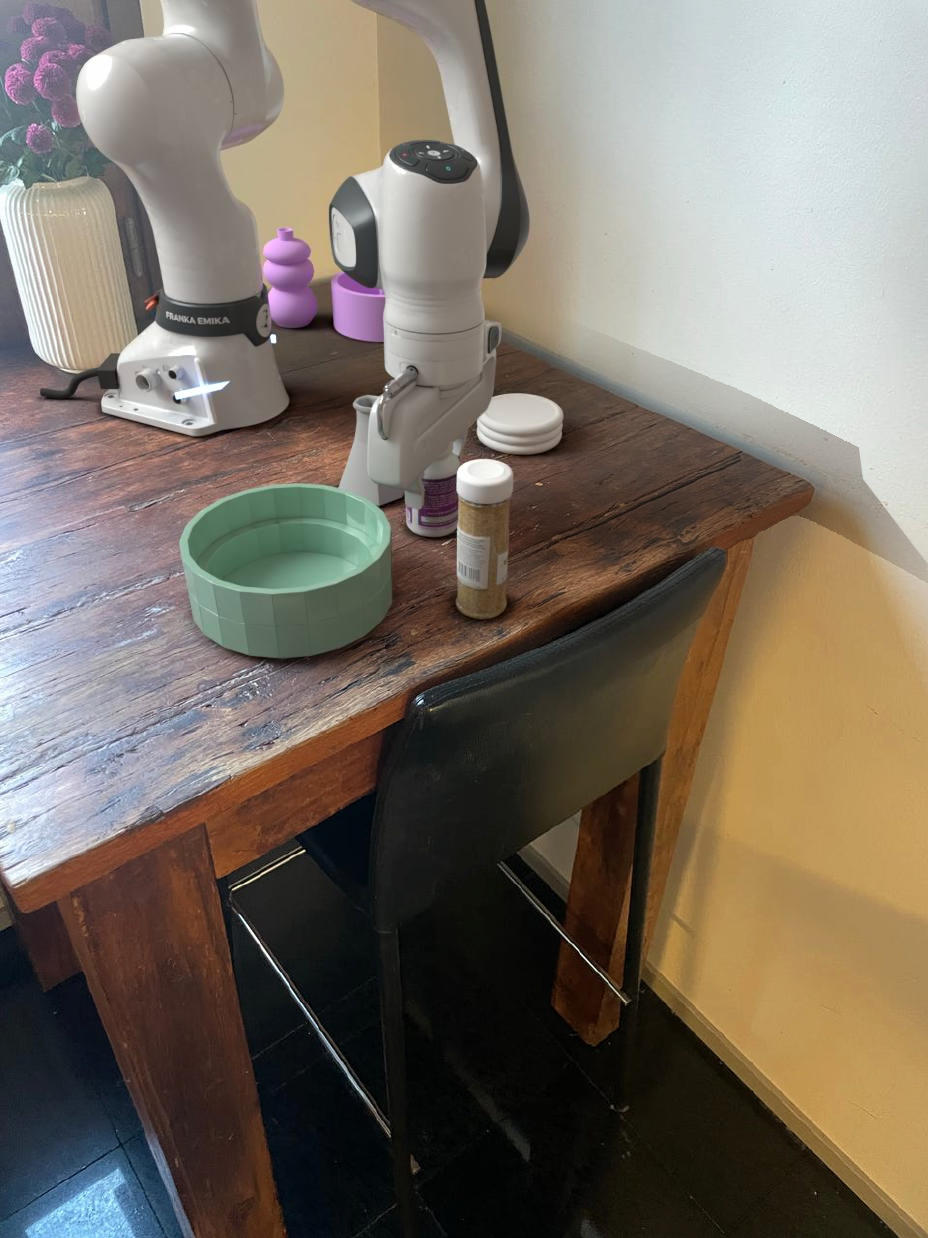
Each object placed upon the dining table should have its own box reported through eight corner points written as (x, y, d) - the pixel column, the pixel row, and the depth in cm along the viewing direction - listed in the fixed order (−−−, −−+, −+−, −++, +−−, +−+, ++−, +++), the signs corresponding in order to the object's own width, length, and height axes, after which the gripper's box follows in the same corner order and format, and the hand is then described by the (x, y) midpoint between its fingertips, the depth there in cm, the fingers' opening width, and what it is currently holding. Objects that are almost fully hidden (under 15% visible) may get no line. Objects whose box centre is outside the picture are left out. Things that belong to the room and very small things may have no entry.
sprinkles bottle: (516, 610, 82) (525, 474, 74) (473, 627, 80) (477, 488, 72) (487, 585, 85) (492, 451, 77) (444, 601, 83) (445, 465, 75)
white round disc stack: (488, 414, 115) (489, 387, 113) (568, 425, 113) (571, 397, 110) (466, 449, 107) (467, 420, 105) (552, 461, 105) (554, 433, 103)
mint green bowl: (154, 642, 78) (138, 572, 73) (247, 535, 91) (238, 471, 87) (351, 681, 74) (346, 610, 70) (417, 564, 88) (417, 498, 84)
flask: (381, 514, 95) (377, 423, 89) (325, 494, 98) (318, 405, 92) (421, 485, 100) (420, 397, 94) (366, 467, 103) (362, 381, 97)
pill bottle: (469, 521, 94) (472, 433, 88) (440, 544, 91) (440, 454, 85) (425, 506, 96) (424, 419, 91) (395, 528, 93) (392, 439, 87)
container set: (436, 307, 146) (436, 217, 138) (436, 342, 134) (436, 246, 126) (275, 305, 145) (266, 215, 137) (260, 340, 133) (249, 244, 125)
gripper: (413, 398, 74) (416, 546, 82) (509, 319, 89) (502, 451, 97) (344, 384, 76) (353, 530, 84) (448, 309, 91) (447, 439, 99)
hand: (434, 487), depth 91 cm, fingers open, 6 cm apart
